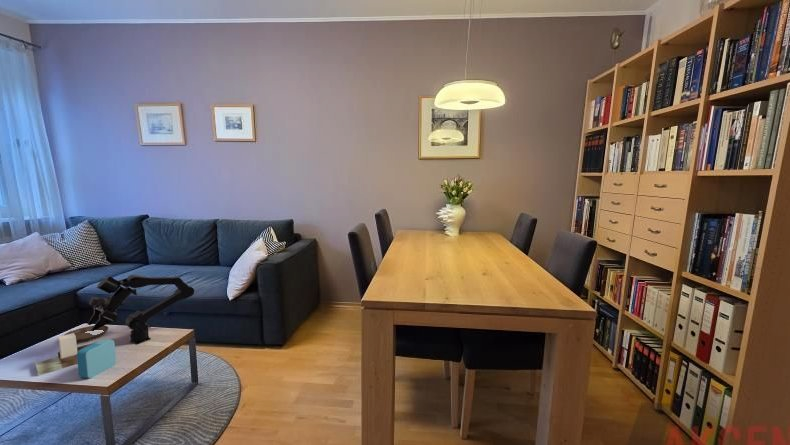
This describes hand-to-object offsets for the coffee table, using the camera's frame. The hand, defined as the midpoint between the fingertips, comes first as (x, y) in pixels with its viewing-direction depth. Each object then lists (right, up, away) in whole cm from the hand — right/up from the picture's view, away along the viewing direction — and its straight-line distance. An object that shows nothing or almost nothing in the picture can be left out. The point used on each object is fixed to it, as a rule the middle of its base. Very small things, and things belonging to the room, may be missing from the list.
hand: (90, 327), depth 151 cm
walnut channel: (-4, -14, -4) cm, 15 cm away
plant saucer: (-20, -12, +19) cm, 30 cm away
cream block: (-5, -12, -5) cm, 14 cm away
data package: (+15, -15, -12) cm, 24 cm away
